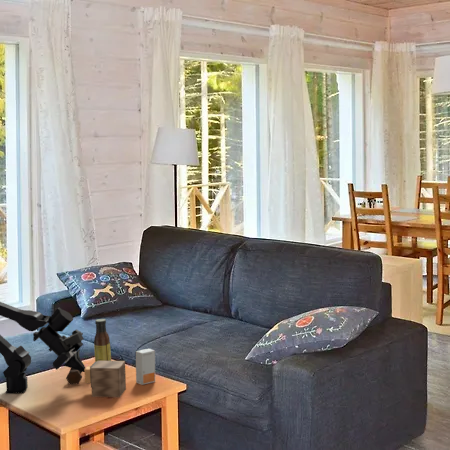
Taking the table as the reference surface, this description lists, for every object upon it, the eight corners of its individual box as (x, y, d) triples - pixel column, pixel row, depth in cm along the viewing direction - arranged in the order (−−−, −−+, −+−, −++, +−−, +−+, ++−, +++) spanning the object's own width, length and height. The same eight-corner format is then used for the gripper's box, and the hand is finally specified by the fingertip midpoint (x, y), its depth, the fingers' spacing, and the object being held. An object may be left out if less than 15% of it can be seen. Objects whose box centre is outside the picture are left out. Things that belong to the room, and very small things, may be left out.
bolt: (79, 377, 285) (76, 388, 270) (67, 371, 284) (64, 382, 269) (86, 364, 285) (83, 374, 270) (74, 358, 284) (71, 368, 269)
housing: (90, 396, 256) (89, 367, 255) (97, 388, 265) (96, 360, 264) (119, 397, 255) (119, 368, 254) (125, 388, 264) (125, 360, 263)
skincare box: (142, 385, 267) (141, 353, 266) (135, 382, 270) (135, 351, 269) (156, 381, 271) (155, 350, 270) (149, 379, 274) (148, 348, 273)
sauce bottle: (106, 365, 292) (104, 317, 290) (114, 369, 288) (113, 319, 286) (91, 369, 288) (90, 319, 286) (99, 372, 284) (98, 322, 282)
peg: (84, 383, 258) (84, 369, 258) (88, 379, 262) (87, 366, 262) (111, 383, 257) (110, 369, 257) (114, 380, 261) (113, 366, 261)
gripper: (60, 331, 249) (93, 363, 249) (76, 318, 268) (107, 348, 268) (38, 353, 251) (71, 385, 251) (56, 339, 269) (87, 369, 269)
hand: (85, 371), depth 260 cm, fingers closed, pressing on peg
